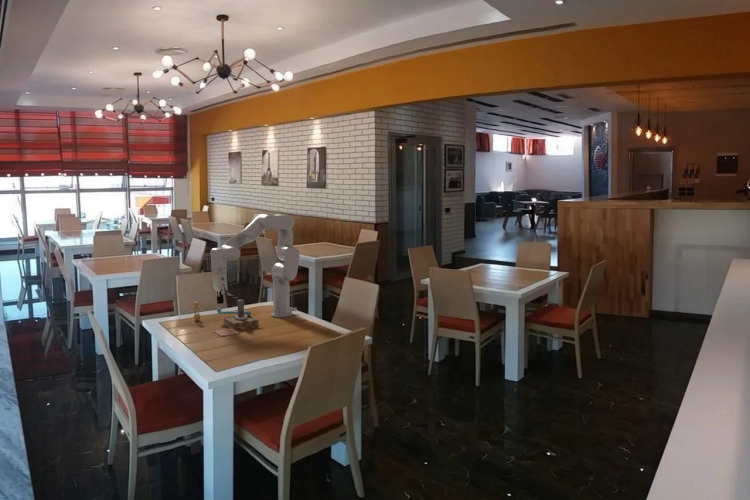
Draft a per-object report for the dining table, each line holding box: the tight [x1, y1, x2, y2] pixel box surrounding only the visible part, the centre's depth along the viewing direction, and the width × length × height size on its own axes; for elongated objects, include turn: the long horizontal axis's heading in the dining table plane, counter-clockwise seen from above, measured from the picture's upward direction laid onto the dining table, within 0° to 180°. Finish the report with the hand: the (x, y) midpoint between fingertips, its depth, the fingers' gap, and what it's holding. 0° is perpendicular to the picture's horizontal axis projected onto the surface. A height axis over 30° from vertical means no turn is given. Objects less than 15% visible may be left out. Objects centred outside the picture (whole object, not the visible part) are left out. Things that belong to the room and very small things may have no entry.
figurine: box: [188, 300, 205, 322], centre depth 323 cm, size 8×6×12 cm
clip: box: [216, 307, 252, 315], centre depth 319 cm, size 19×2×3 cm, turn 93°
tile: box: [213, 328, 241, 337], centre depth 300 cm, size 10×10×1 cm
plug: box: [234, 299, 247, 321], centre depth 313 cm, size 6×6×14 cm
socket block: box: [223, 313, 259, 331], centre depth 314 cm, size 14×14×5 cm
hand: (220, 303), depth 315 cm, fingers closed
